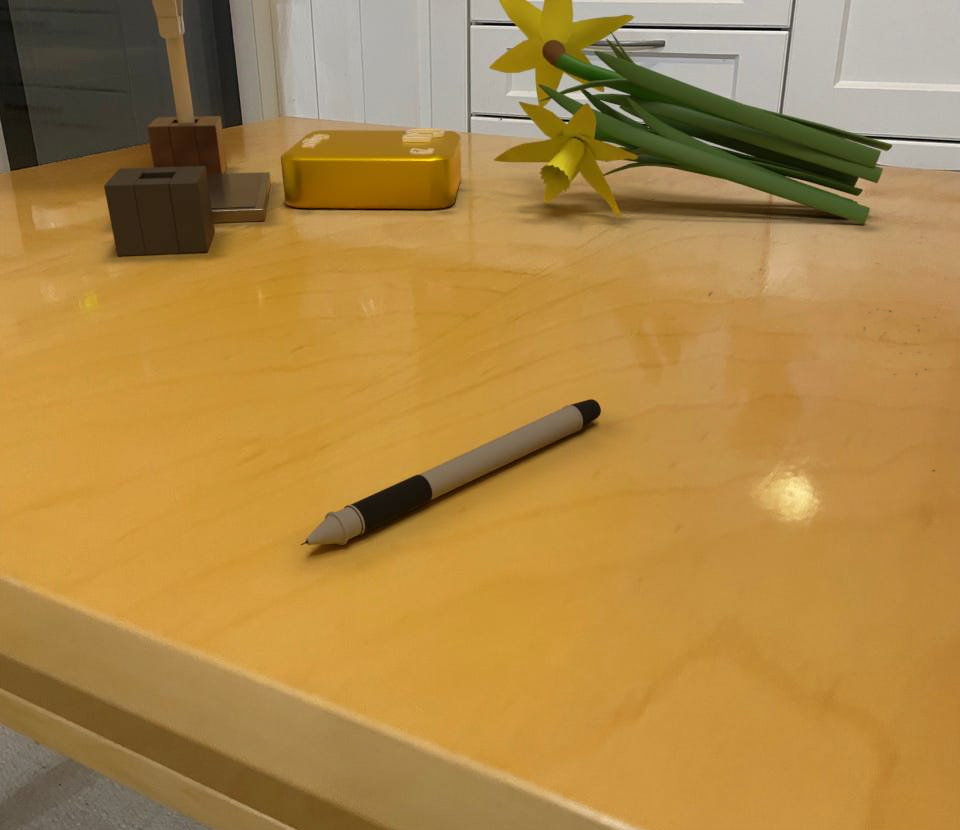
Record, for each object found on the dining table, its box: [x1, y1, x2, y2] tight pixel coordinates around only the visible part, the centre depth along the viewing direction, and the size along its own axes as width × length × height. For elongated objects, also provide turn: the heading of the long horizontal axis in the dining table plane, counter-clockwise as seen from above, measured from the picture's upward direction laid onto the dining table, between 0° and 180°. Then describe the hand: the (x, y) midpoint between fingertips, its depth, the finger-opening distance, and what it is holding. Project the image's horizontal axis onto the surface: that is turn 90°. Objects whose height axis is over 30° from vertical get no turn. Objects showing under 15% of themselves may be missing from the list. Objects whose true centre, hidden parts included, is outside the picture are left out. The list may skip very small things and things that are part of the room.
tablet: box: [207, 171, 272, 224], centre depth 83 cm, size 12×16×1 cm
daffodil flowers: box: [489, 0, 893, 225], centre depth 78 cm, size 17×15×35 cm
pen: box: [300, 398, 602, 546], centre depth 38 cm, size 1×16×1 cm, turn 135°
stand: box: [146, 115, 228, 174], centre depth 94 cm, size 6×6×5 cm
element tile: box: [280, 127, 462, 210], centre depth 86 cm, size 15×15×5 cm
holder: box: [103, 166, 216, 257], centre depth 70 cm, size 6×6×5 cm
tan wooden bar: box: [164, 15, 195, 123], centre depth 92 cm, size 2×2×14 cm
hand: (173, 37), depth 89 cm, fingers closed on tan wooden bar, 1 cm apart
